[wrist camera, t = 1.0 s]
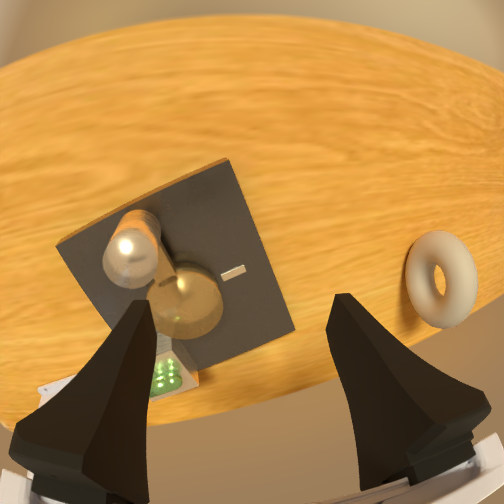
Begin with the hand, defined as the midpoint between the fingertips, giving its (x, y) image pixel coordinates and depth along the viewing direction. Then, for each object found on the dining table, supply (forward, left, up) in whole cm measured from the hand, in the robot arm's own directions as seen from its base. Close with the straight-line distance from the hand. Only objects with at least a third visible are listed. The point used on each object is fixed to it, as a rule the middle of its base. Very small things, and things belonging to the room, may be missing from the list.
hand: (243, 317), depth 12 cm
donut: (+18, -14, -14) cm, 27 cm away
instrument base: (-5, -5, -14) cm, 16 cm away
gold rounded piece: (-5, -2, -12) cm, 13 cm away
